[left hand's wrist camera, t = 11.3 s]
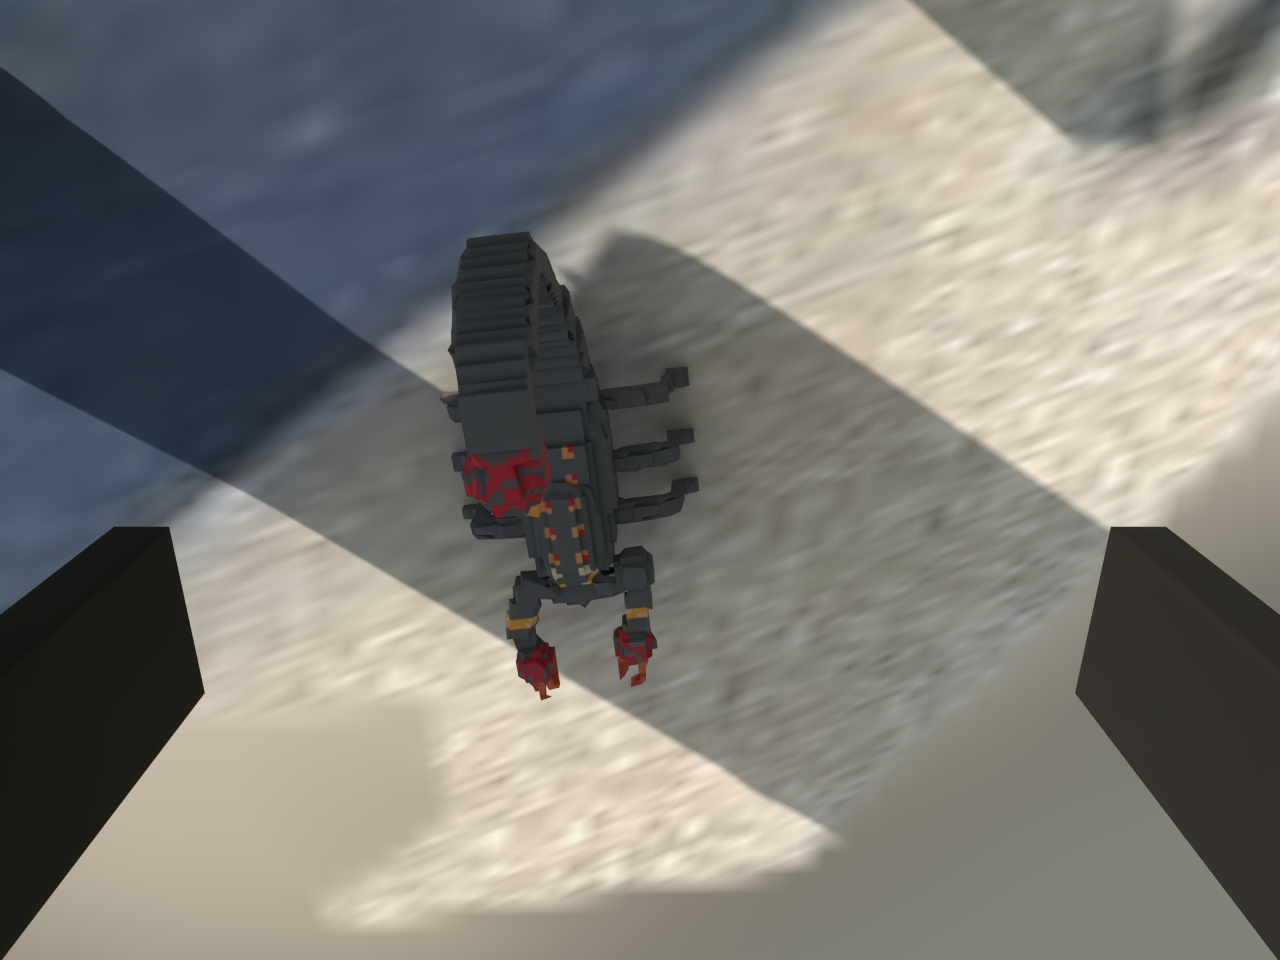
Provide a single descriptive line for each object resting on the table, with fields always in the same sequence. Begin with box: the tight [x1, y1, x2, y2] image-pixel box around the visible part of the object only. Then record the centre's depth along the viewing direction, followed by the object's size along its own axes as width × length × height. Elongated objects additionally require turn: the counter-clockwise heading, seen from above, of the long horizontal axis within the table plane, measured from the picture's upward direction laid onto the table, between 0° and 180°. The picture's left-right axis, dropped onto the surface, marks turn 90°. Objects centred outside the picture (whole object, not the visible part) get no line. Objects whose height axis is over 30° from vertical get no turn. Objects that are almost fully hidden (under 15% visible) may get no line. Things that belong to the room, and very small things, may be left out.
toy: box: [440, 232, 699, 700], centre depth 41 cm, size 13×27×18 cm, turn 6°
